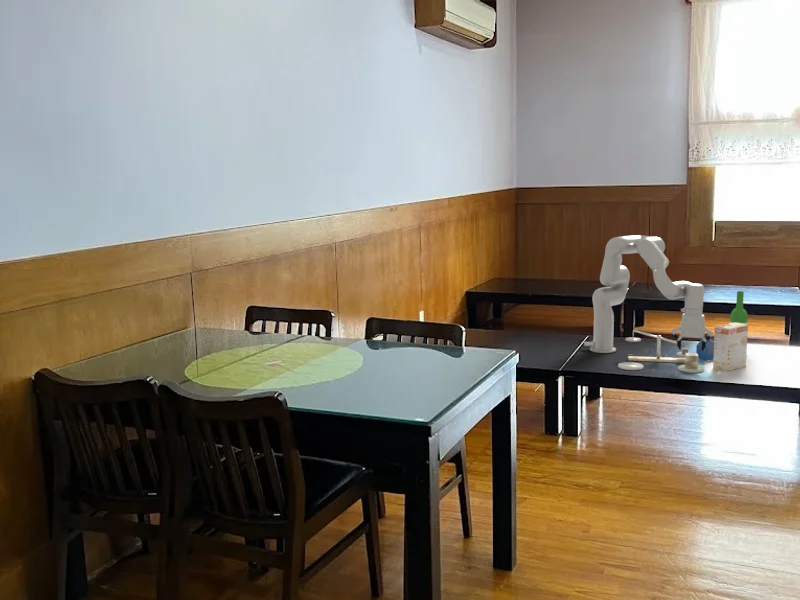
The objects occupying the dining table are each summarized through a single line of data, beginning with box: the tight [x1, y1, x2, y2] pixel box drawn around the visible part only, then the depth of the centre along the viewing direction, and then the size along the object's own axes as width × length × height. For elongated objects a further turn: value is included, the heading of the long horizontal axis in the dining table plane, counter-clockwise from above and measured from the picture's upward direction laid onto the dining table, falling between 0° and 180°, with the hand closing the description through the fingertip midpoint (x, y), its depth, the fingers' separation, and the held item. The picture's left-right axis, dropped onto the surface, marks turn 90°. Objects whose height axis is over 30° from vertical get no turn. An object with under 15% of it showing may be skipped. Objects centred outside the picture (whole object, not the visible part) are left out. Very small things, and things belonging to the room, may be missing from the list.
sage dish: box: [677, 364, 705, 374], centre depth 357 cm, size 11×11×1 cm
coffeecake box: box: [712, 322, 749, 372], centre depth 358 cm, size 15×7×20 cm, turn 123°
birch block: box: [684, 352, 699, 369], centre depth 356 cm, size 5×5×6 cm
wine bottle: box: [729, 290, 749, 325], centre depth 385 cm, size 8×8×30 cm
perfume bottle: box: [695, 332, 714, 362], centre depth 376 cm, size 6×6×12 cm
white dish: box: [617, 361, 644, 371], centre depth 363 cm, size 11×11×1 cm
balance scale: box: [625, 329, 689, 364], centre depth 373 cm, size 30×7×15 cm, turn 76°
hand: (690, 349), depth 356 cm, fingers open, 9 cm apart
